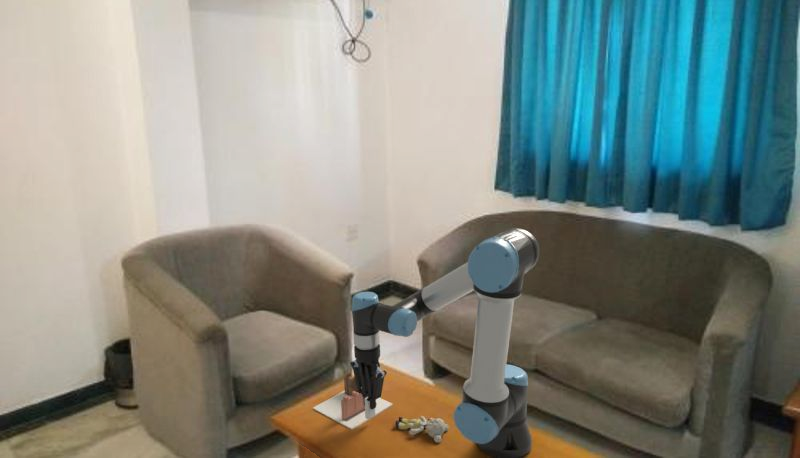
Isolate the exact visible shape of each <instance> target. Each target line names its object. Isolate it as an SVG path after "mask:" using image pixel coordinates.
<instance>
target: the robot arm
mask: <svg viewBox="0 0 800 458" xmlns="http://www.w3.org/2000/svg"><path fill="white" fill-rule="evenodd" d="M537 240H538V239H536V237H535V236H534V235H533V234H532V233H531V232H529V231H527V230H526V229H523V228H520V227H519V228H518V227H516V228H515V227H513V228H508V229H505V230H503V231H501V232H499V233H498V234H495V236H492V237H489V238H486V239H484V240H483V241H481V242H480V243H479V244H477V245H476V246H475V247H474V248H473V250H472V251H471V253H470V255H469V257H468V259H467V262H465V263H463V264H462V265H460V266H459V267H457V268H455V269H454V270H451V271H450V272H449V273H447V274H445V275H444V276H443V275H442V277H440V278H438V279H437V280H435V281H433V282H432V283H430V284H428V285H427V286H425V287H423V288H421V289H420V290H417V291H416V292H414V293H413V294H410V295H409V296H408V297H406V298H404V299H402V300H401V301H399V302H396V303H395V304H393V305H389V304H385V303H381V302H379V295H378V294H377V293H376V292H373V291H362V292H358V293H356V294H353V296H352V298H351V301H352V302H351V314H352V324H353V325H352V327H353V331H352V332H353V345H354V346H353V347H354V348H353V349H354V358H355V360H352V361H350V367H351V369H352V372H353V375H354V376H353V377H355V381H356V386H357V390H358V393H359V394H360V393H361V394H362V396H363V401H364V406H365V418H367V419H369V420H371V419H373V418H374V417H376V416H375V408H376V399H378V398H381V397H382V392H383V386H384V382H385V377H386V375H387V374H388V373H387V371H386V370H383V369H381V364H380V361H379V360H380V357H381V345H380V342H381V341H380V340H381V339H380V332H384V333H387V334H389V335H390V334H391V335H393V336H396V337H397V336H399V337H405V338H409V337H410V336H411V335H413V334H414V331H415V330H416V328H417V326H418V322H419V321H421V320H423V319H424V318H426V317H428V316H430V315H431V314H433V313H435V312H436V311H439V310H440V309H442V308H444V307H445V306H448V305H449V304H451V303H453V302H455V301H457V300H459V299H461V298H463V297H465V296H466V295H468V294H470V293H472V292H473V291H474V292H475V294H477V295H478V298H477V299H478V301H477V309H476V318H475V319H476V320H475V328H474V337H473V339H474V340H473V348H472V358H471V369H470V377H469V378H467V379H466V380H465V382H464V383H463V386H462V388H463V389H462V397H461V398H462V399H461V402H460V403H459V404H457V405H456V407H455V408H454V412H453V421H454V425H455V426H456V428H457V430H458V431H459V432H460V434H461V435H462V436H463V437H464V438H465V439H467V440H468V441H470V442H472V443H475V444H477V445H478V447H479V448H480V450H481V451H483V452H484V453H485V454H487V455H489V456H491V457H494V458H522V457H524V456H526V455H527V454H528V453H530V451H531V450H532V446H533V444H532V443H533V437H532V433H531V432H530V428H529V425H528V421H527V409H528V390H529V382H528V381H529V380H528V378H529V377H528V374H527V372H526V371H525V370H524V369H523V368H521V367H518V366H517V365H513V364H507V362H508V353H509V348H510V346H509V344H510V338H511V328H512V323H513V322H512V320H513V313H514V306H515V305H514V304H515V300H516V299H518V298H520V297H521V295H522V293H523V285H524V277H525V274H527V273H528V272H529V271H531V270H532V269H533V267H535V266H536V264H537V262H538V260H539V257H540V246H539V243H538V241H537ZM361 387H362V388H361Z"/></svg>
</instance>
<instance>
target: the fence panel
mask: <svg viewBox="0 0 800 458" xmlns="http://www.w3.org/2000/svg"><path fill="white" fill-rule="evenodd" d="M361 388H362V387H361ZM343 398H344V399H343V400H341V411H342V419H344V420H345V419H347V418H349V417H350V416H352V415H354V414H356V413H358V412H360V411H361V410H363V409H365V406H364V401H363V396H362V394H361V393H360V394H359V393H358V392H355V391H353V392H352V395H351V396H349V397H348V396H346V395H345V396H343Z"/></svg>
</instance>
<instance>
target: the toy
mask: <svg viewBox="0 0 800 458" xmlns="http://www.w3.org/2000/svg"><path fill="white" fill-rule="evenodd" d="M394 424H395V429H398V430H408V429H409V431H408V434H409V436H414V435H415V436H416V435H417V434H419V433H420V432H423V431H425V430H426V432H427V434H428V436H429V437H430V438H433V441H434V442H435V443H438V444H439V443H441V442H442V440H443V439H442V436H443V435H444V433H445V432H448V431H449V430H450V429H449V428H450V426H449V425H448V423H445V421H444V420H443V419H442V418H439V417H438V418H433V417H430V418H428V419H426V418H425V416H423V415H420V416H419V418H417V419H416V418H412V419H411V418H410V419H407V418H404V417H401V416H398V419H397V420H395V423H394Z"/></svg>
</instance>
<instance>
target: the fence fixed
mask: <svg viewBox="0 0 800 458" xmlns="http://www.w3.org/2000/svg"><path fill="white" fill-rule="evenodd" d="M343 382H344V383H343V384H344V387H343V388H344V391H345V393H347V394H349V395H352V392H353V391H355V392H358V390H357V386H356V381H355V377H354V376H351V372H347V373H345V375H344V376H343Z"/></svg>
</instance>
